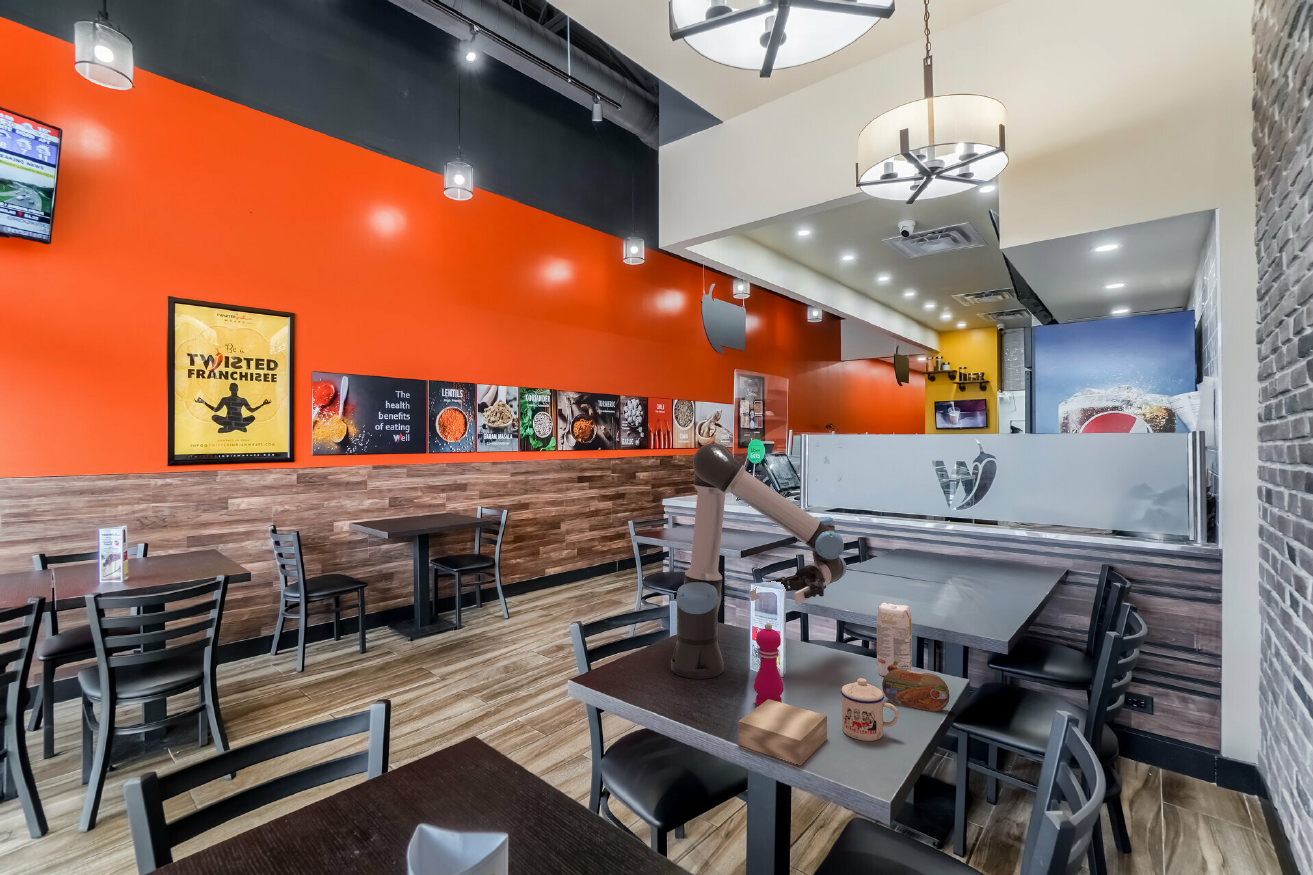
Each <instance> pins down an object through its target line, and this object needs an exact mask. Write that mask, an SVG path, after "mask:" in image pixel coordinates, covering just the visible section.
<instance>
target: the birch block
mask: <svg viewBox="0 0 1313 875" xmlns="http://www.w3.org/2000/svg"><path fill="white" fill-rule="evenodd" d="M737 723H738V726H737V727H738V732H737V733H738V738H737V739H738V745H739V746H741V747H744V748H748V749H749V750H753V751H755V752H757V753H758V752H759V753H761V754H764V755H767V756H771V757H773V756H774V757H773V758H776V757H777V759H779V758H781V759H784V760H788V761H789V762H788V763H790V762H792V763H791V764H793V763H794V764H793V765H796V764H798V765H797V766H799V765H801V764H802V765H803V764H804V763H805V762H806V761H807V760H808V759H809V758H810V757H811V756H812V755H813V754H814V753H815V752H816V750H818V748H820V746H822V745H823V744H824V743H825V741H827V740H828V715H826V714H823V713H819V712H817V711H813V710H808V709H806V708H803V707H802V708H801V707H798V706H794V705H791V704H789V703H788V704H787V703H784V702H782V703H781V702H777V701H774V700H770V699H768V700H767V701H765V702H764V703H762V704H761V705H760V706H756V708H754V709H753V710H751V711H750V712H749V713H748V714H746V715H745V716H743V717H742V718H741V719H739V720H738V722H737ZM781 759H780V760H781ZM784 760H783V761H784ZM805 760H806V761H805ZM803 762H804V763H803ZM802 765H801V766H802Z"/></svg>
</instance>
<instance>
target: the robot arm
mask: <svg viewBox="0 0 1313 875" xmlns="http://www.w3.org/2000/svg"><path fill="white" fill-rule="evenodd" d="M692 466H693V470H694V476H693V485H692V486H693V487H694V488H695V490H696V491H697V495H696V505H695V506H696V507H695V515H694V516H695V517H694V526H693V537H692V548H691V560H690V567H689V568H688V569H687V570H686V571H685V572H684V579H683V580H684V581H683V584H682V585H681V586H679V588H678V589H677V592H676V594H677V595H676V598H675V600H676V643H675V647H674V650H673V653H672V656H671V659H670V670H671V672H672V671H673V672H672V673H674V674H675V675H677V676H679V677H683V678H687V679H699V680H703V679H710V678H715V677H718V676H720V675H722V674H723V672H724V671H725V661H724V659H723V654H722V652H721V651H722V650H721V649H720V646H719V641H718V638H719V637H718V636H719V635H718V633H719V632H718V631H719V630H718V622H719V620H718V617H719V616H718V615H719V614H718V613H719V609H720V605H721V603H722V602H721V601H722V585H723V576H722V575H721V573H720V571H719V565H720V564H719V563H720V555H721V554H720V553H721V545H722V544H721V542H722V535H723V522H724V512H725V504H726V502H725V500H726V494H729V493H730V494H732V495H733V496H735V497H736V498H737V499H739V500H741V501H742V502H744V504H747V505H748V506H749V507H751V508H752V509H754V510H756V512H758V513H760V514H761V515H762V516H764V517H765V518H767V519H768V520H770V521H771V522H773V523H774V524H775V525H777V526H778V527H780V528H782V529H783V530H784V531H786V532H787V533H789V534H791V535H792V536H793V537H795V538H797V539H798V540H799V541H801V542H802V543H804V545H806V546H807V547H809V549H811V552H812V558H813V559H812V560H813V561H812V562H810V563H808V564H806V565H805V566H802V567H800V568H798V569H797V570H796V572H795V574H794V575H793V576H792V575H791V577H786V576H781V577H778V578H774V579H771V580H767V581H765V582H771V581H776V582H781V584H783V585H784V587H785V589H786V592H792V591H794V593H793V594H794V601H795V604H796V605H799V604H801V603H803V602H805V601H807V600H808V599H811V598H812V597H813V598H814V597H817V596H819V597H821V598H822V597H824V595H825V589H826V588H827V586H828V585H830V584H832V583H835V582H838V581H839V580H840V579H841V578H842V577H844V576H845V574H846V572H847V569H848V568H847V563H846V561H845V560H844V558H843V557H842V556H841V555H843V552H844V547H845V544H844V540H843V537H842V536H841V535H840V534H839V533H837V531H836V526H835V522H834V518H832V517H830V516H818V517H814V516H812V515H811V514H809V513H808V512H806V511H805V510H804V509H802V508H801V507H799V506H797V505H796V504H795V503H794V502H792V501H791V500H789V499H787V498H786V497H785V496H783V495H781V494H780V493H778V492H777V491H776V490H774V489H773V488H771V487H770V486H769V485H767V484H766V483H764V482H763V481H761V480H760V479H758V478H757V477H755V476H754V475H752V474H751V473H749V472H748V471H746V469H745V465H743V464H742V463H741V462H739V461H738V460H737V459H736V458H735V457H734V456H733V453H732V452H731V450H730V449H729V448H728V447H726V446H725V445H723V444H721V443H707V444H703V445H702V446H701V447H699V448H698V449H697V450H696V452H695V453H694V456H693V459H692ZM756 588H757V587H755V588H753V589H751V590H752V591H751V590H749V596H750V601H751V602H754V601H756V600H758V599H760V598H759V596H758V595H756ZM754 589H755V590H754Z"/></svg>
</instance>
